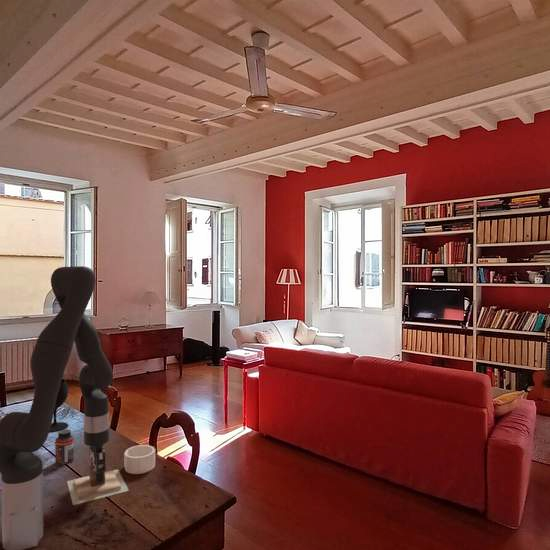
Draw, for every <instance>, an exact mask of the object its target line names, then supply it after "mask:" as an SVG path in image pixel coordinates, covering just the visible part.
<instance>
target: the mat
mask: <svg viewBox="0 0 550 550" xmlns="http://www.w3.org/2000/svg"><path fill="white" fill-rule="evenodd" d="M113 471H114V473H115V475H116V477H117V479H118V481H119V483H120V485H121V489H120V490H116V491H112V492H108V493H105V494H101V495H97V496H93V497H89V498H85V499H81V500H79V496H78V493H77V490H76V486H75V483H74V479H71V480H66V483H67V487H68V491H69V494H70V498H71V502H72V505H73V506H77V505H80V504H83V503H86V502H90V501H91V502H92V501H95V500H99V499H103V498H107V497H110V496H114V495H117V494H122V493H125V492H129V491H130V490H129V488H128V486H127V484H126V482H125V480H124V478H123V476H122V474H121V473H120V470H119V469H114V470H113Z"/></svg>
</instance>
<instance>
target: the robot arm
mask: <svg viewBox="0 0 550 550" xmlns="http://www.w3.org/2000/svg"><path fill="white" fill-rule="evenodd" d="M95 275H96V274H95V272H94V270H93V269H92V268H90V267H88V266H84V265H83V266H82V265H80V266H60V267H58V268H55V270H54V271H53V272H52V274H51V275H50V276H51V277H50V285H51V288H52V292H53V294H54V297H55V299H56V301H57V303H58V305H59V307H60V309H59V312H58V313H57V314H56V315H55V317H54V318H52V320H50V322H49V323H48V324H47V325H46V326H45V327H44V328H43V329H42V331H40V334H39V335H38V337H37V339H36V341H35V344H34V347H33V351H32V352H31V353H32V354H31V356H30V362H29V363H30V371H31V372H30V373H31V376H32V381H33V387H34V392H33V393H34V395H33V398H32V403H31V405H30V406H31V407H30V410H29V412H23V411H12V412H9V413H7V414H6V415H4V416H3V417H2V418H1V420H0V475H1V526H2V527H1V528H2V529H1V531H2V533H1V534H2V537H1V538H2V539H1V540H2V548H3V550H27V549H30V548H34V547H37V546H38V545H39V542H41V539H42V538H43V536H44V495H43V494H44V491H43V489H44V487H43V486H44V483H43V481H44V477H43V475H44V474H43V468H44V467H43V466H44V465H43V461H42V458H40V457H39V456H37V455H36V454H34V453H35V452H37V451H39V450H40V449H41V448H42V447H43V446H44V444H45V442H46V441H47V440H48V437H49V434H50V432H49V431H50V428H51V423H53V420H54V409H55V404H56V400H57V395H58V392H59V388H60V385H61V381H62V379H64V378H63V377H64V374H65V371H66V368H67V365H68V362H69V359H70V356H71V353H72V350H73V347H74V345H75V349H76V352H77V356H78V359H79V361H80V362H82V363H83V364H84V363H85V365H84V366H82V368H81V370H80V372H79V375H78V382H79V387H80V390H81V394H82V398H83V401H84V419H83V443H84V445H85V446H87V447H88V448H89V460H90V466H93V465H94V466H95V472H96V484H100V483H103V482H104V471H105V472H106V470H107V469H106V451H105V450H106V449H105V447H104V445H105V444H107V443H108V442H109V441H110V415H109V397H108V395H107V394H105V393H104V392H102V390H103V389H107V388H109V386H111V384H112V382H113V379H114V372H113V368H112V366H111V364H110V362H109V360H108V359H107V356H106V354H105V353H104V351H103V348H102V344H101V339H100V336H99V333H98V330H97V329H96V326H95V325H94V324H93V322H92V321H91V320H90V319H89V318H88V316H87V315H86V313H85V311H86V309H87V307H88V306H89V305H88V304H89V303H90V299H91V298H92V297H93V296H92V295H93V293H94V290H95V286H96V276H95ZM99 465H102V467H101V468H99Z"/></svg>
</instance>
